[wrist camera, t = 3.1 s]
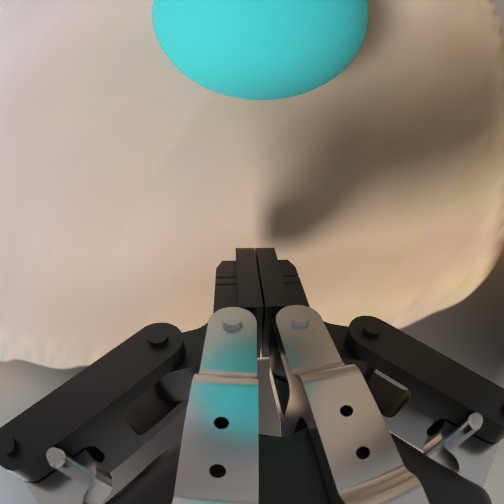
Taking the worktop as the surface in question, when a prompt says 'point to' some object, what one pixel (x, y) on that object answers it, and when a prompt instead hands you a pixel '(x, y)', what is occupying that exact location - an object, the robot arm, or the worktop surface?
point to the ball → (260, 42)
